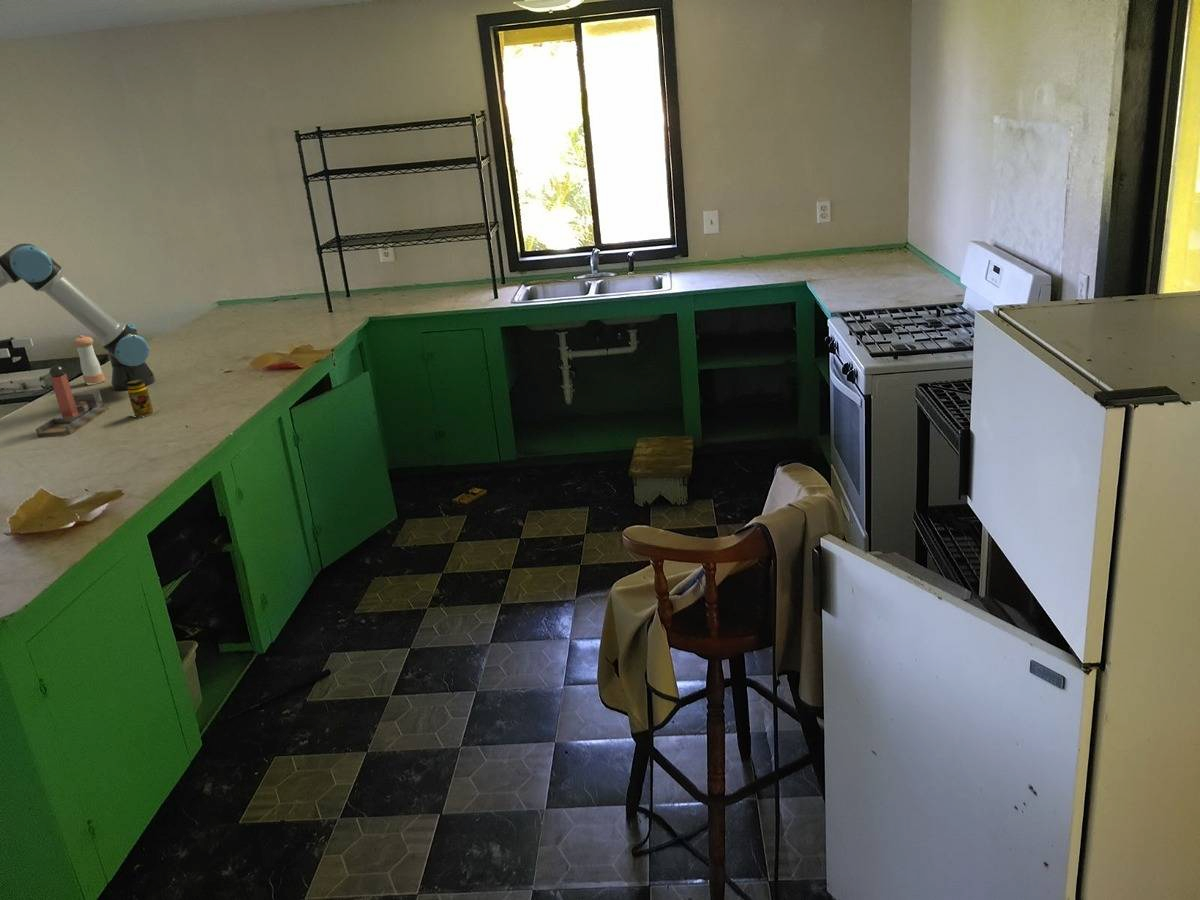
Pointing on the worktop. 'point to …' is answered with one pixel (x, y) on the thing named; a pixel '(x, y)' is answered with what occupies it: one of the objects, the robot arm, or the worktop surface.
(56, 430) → the press base
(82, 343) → the pepper shaker
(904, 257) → the worktop surface
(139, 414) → the condiment
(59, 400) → the handle carriage
